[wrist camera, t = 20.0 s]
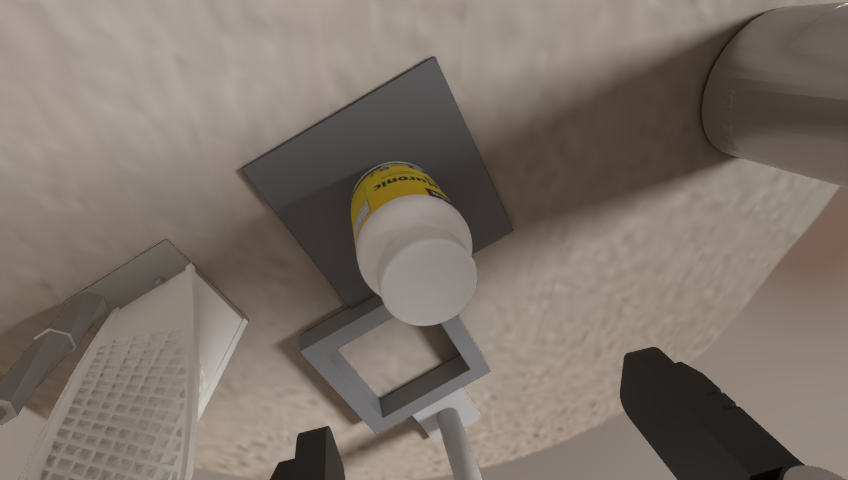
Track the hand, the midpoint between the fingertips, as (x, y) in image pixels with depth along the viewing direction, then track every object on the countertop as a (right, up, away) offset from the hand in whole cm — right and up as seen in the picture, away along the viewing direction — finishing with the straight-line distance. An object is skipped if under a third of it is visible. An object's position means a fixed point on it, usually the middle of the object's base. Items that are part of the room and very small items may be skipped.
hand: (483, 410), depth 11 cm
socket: (-2, -5, +20) cm, 21 cm away
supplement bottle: (-3, +7, +14) cm, 16 cm away
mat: (-4, +7, +14) cm, 16 cm away
